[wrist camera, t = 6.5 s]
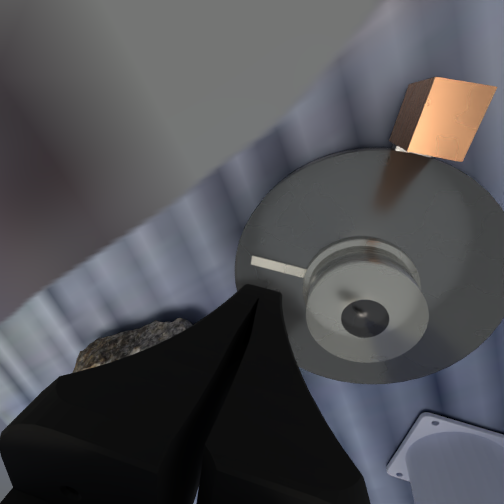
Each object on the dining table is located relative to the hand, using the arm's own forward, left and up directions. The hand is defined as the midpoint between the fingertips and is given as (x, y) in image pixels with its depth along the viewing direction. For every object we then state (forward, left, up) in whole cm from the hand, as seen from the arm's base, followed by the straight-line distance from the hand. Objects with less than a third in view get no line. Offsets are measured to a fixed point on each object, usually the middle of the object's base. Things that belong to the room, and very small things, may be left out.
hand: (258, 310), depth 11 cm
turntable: (-5, +1, -8) cm, 10 cm away
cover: (-5, +2, -7) cm, 9 cm away
